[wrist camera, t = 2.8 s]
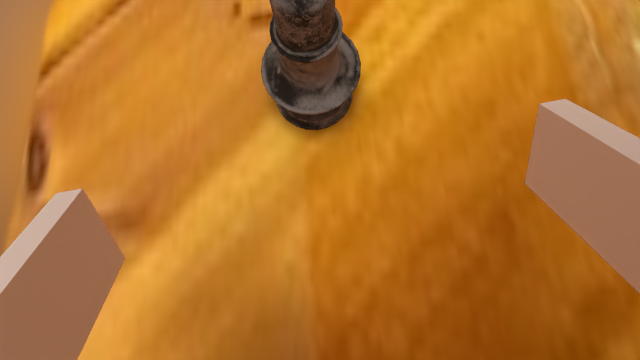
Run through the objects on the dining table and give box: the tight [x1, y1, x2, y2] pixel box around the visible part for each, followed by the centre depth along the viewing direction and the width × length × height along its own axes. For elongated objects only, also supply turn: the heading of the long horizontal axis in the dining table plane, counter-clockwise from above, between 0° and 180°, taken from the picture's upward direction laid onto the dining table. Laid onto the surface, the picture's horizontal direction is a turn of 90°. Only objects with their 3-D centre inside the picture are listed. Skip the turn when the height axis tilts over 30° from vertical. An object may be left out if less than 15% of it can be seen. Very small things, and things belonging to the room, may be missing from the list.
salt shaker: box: [261, 0, 361, 130], centre depth 19 cm, size 6×6×12 cm
